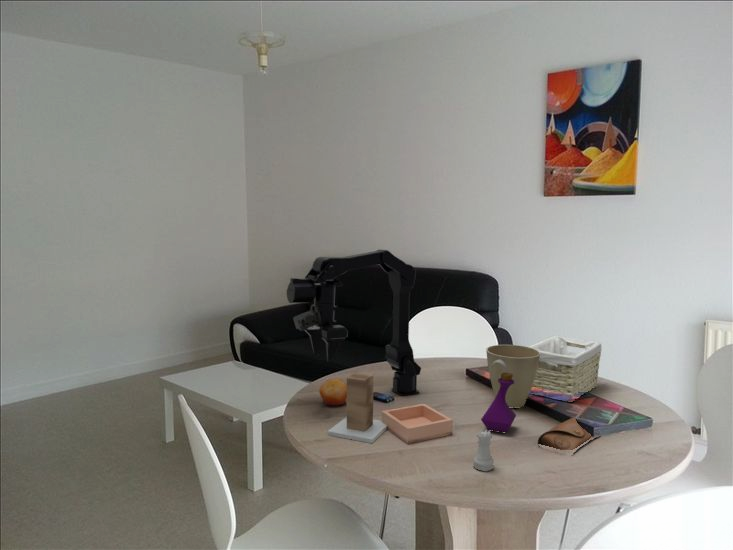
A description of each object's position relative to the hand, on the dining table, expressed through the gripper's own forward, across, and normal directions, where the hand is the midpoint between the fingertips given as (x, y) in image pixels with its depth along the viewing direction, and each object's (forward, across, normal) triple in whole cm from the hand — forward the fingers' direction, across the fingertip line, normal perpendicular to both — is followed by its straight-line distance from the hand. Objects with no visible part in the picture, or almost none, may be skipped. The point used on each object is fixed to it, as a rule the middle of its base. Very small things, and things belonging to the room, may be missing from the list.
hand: (322, 357), depth 153 cm
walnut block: (+13, +20, +2) cm, 24 cm away
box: (+14, +26, +14) cm, 33 cm away
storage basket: (+12, +22, +73) cm, 77 cm away
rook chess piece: (+14, +50, +16) cm, 55 cm away
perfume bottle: (+13, +36, +33) cm, 51 cm away
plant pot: (+12, +24, +49) cm, 56 cm away
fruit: (+14, -1, +5) cm, 15 cm away
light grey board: (+14, +20, +2) cm, 25 cm away
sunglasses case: (+13, +50, +44) cm, 68 cm away
